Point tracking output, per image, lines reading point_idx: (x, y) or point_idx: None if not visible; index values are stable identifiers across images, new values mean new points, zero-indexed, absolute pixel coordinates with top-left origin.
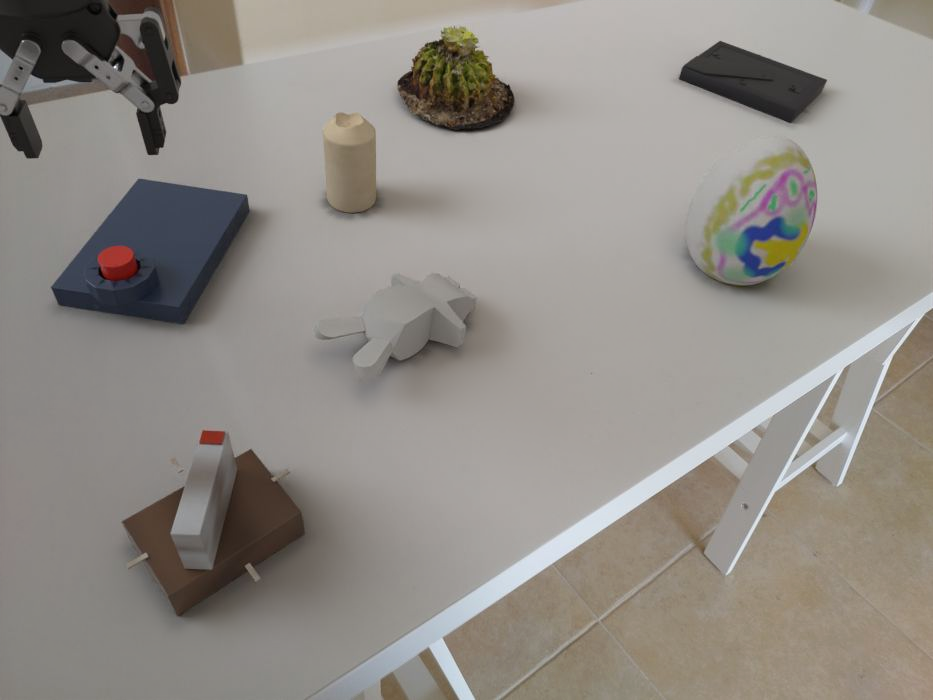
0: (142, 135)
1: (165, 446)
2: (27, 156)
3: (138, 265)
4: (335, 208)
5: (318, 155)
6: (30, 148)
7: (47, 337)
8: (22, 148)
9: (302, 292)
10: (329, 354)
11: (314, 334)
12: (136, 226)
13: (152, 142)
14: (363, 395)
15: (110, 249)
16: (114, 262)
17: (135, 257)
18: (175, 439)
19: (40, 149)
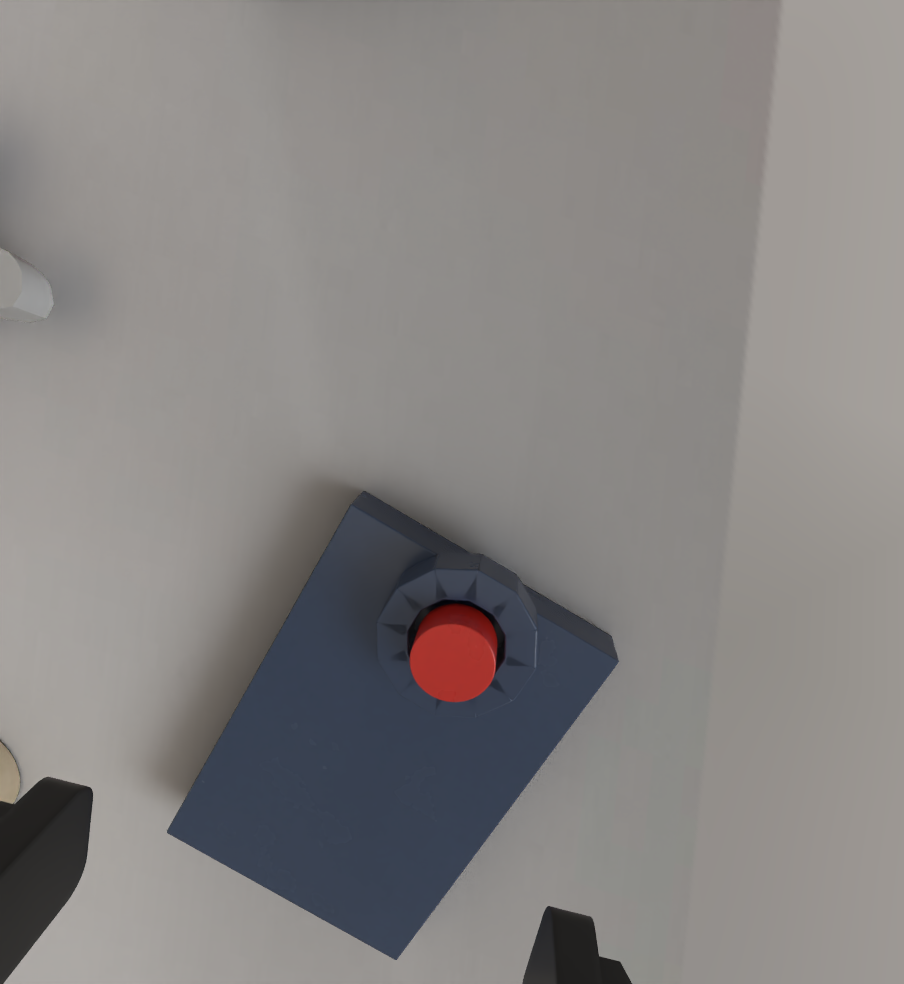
0: (10, 860)
1: (442, 127)
2: (585, 920)
3: None
4: (6, 749)
5: None
6: (562, 952)
7: (643, 543)
8: (597, 962)
9: (107, 508)
10: (72, 294)
11: (49, 291)
12: (416, 803)
13: (5, 821)
14: (15, 141)
15: (461, 691)
16: (456, 641)
17: None
18: (419, 141)
19: (531, 962)
